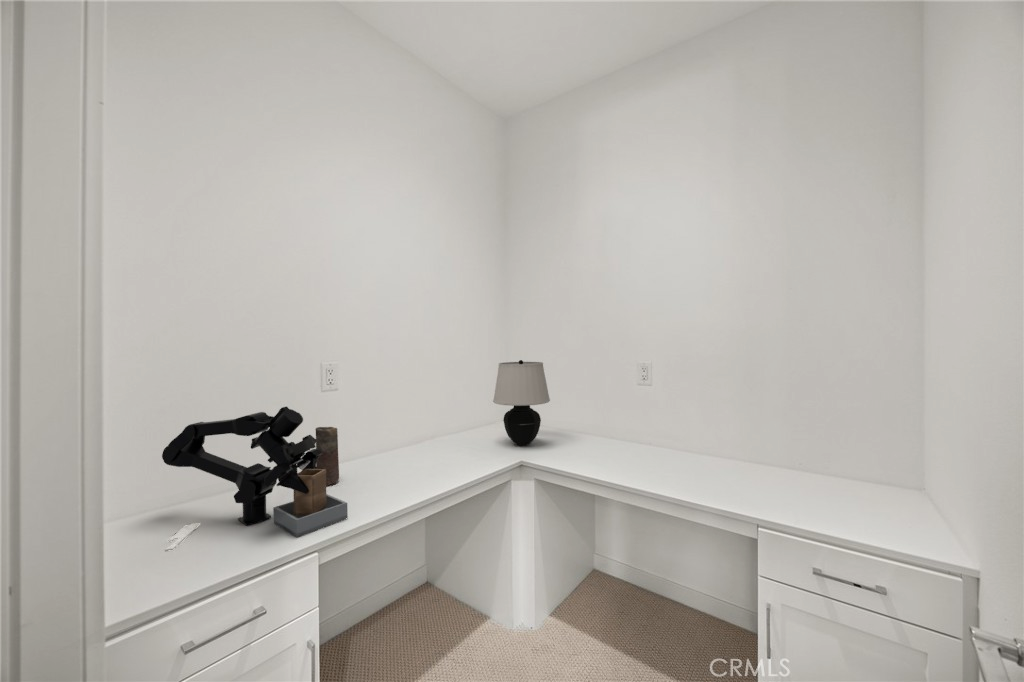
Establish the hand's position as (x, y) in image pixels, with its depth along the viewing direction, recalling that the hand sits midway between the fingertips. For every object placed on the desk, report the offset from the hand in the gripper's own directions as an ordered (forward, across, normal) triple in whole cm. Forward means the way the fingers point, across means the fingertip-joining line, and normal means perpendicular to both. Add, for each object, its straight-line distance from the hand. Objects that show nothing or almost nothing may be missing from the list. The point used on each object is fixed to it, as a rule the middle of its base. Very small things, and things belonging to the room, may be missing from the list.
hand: (314, 488), depth 117 cm
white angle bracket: (-15, -12, +29) cm, 35 cm away
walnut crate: (+4, 0, +6) cm, 7 cm away
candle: (-3, +30, +16) cm, 35 cm away
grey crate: (+6, 0, +7) cm, 9 cm away
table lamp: (+42, +87, -30) cm, 101 cm away
